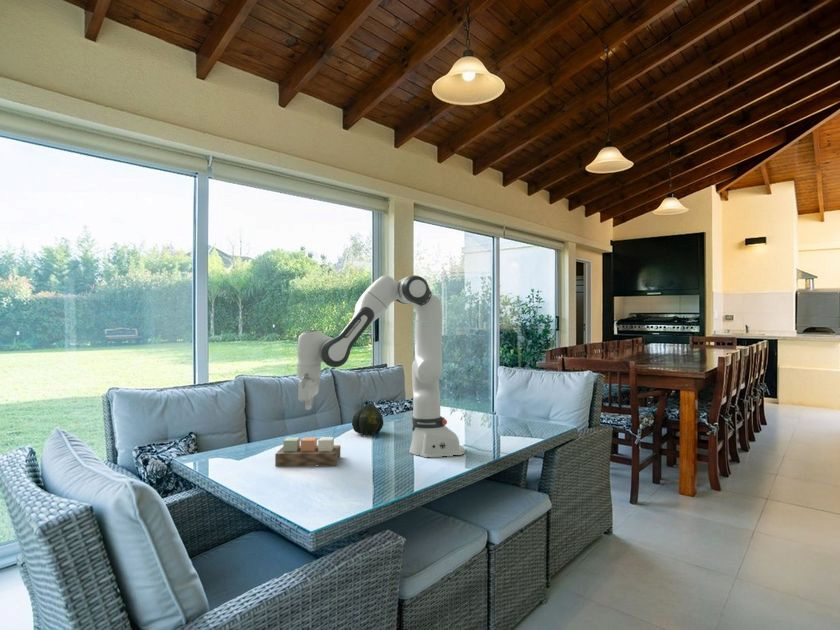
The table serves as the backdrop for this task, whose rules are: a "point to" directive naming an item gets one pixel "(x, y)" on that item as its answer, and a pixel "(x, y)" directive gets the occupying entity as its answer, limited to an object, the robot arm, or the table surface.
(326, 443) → the cream key
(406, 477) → the table surface
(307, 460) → the board
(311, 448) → the terracotta key
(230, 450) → the table surface
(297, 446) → the sage key
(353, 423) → the squash
